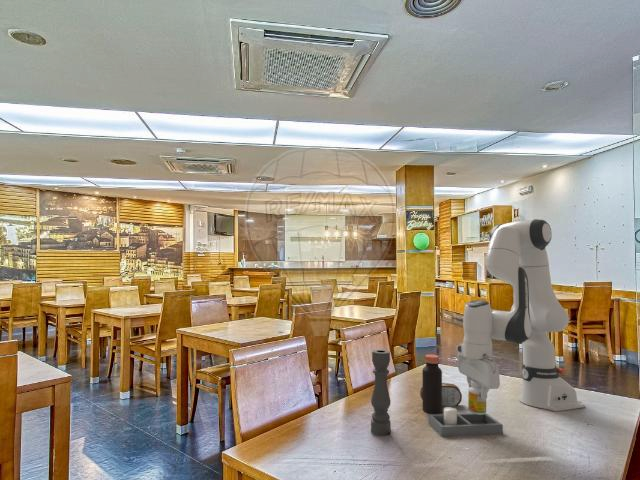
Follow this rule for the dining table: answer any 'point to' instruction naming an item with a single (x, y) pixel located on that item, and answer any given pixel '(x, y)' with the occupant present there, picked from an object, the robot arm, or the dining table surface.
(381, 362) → the candle holder
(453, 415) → the shaker
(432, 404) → the vinegar
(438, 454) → the dining table surface
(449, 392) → the tin
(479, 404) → the supplement bottle
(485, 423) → the caddy
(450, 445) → the dining table surface
